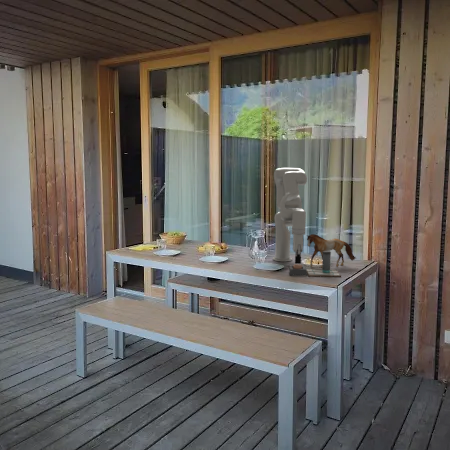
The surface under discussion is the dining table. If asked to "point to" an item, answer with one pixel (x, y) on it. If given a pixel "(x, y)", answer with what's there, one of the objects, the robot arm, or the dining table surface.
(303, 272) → the button base
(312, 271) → the board
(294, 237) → the robot arm
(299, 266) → the button
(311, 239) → the horse figurine
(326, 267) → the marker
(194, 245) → the dining table surface
